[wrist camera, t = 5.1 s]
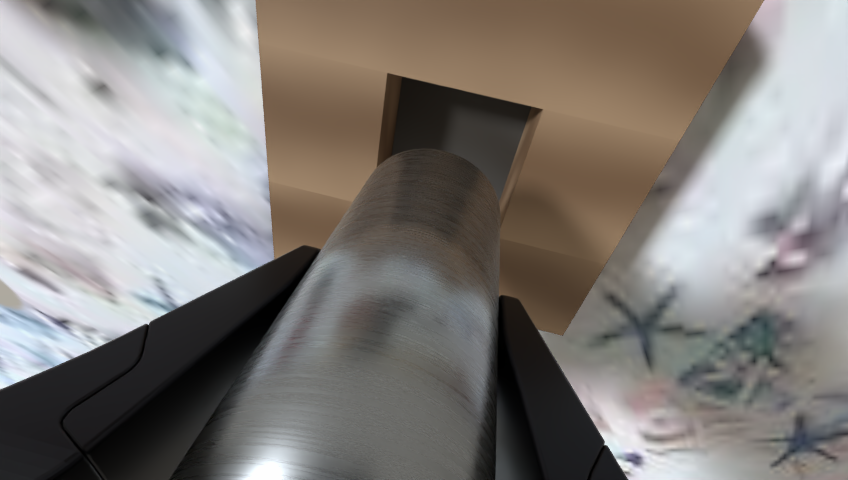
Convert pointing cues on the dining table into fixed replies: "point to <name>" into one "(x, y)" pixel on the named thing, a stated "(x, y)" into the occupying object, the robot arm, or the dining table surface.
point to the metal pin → (377, 344)
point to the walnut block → (491, 115)
